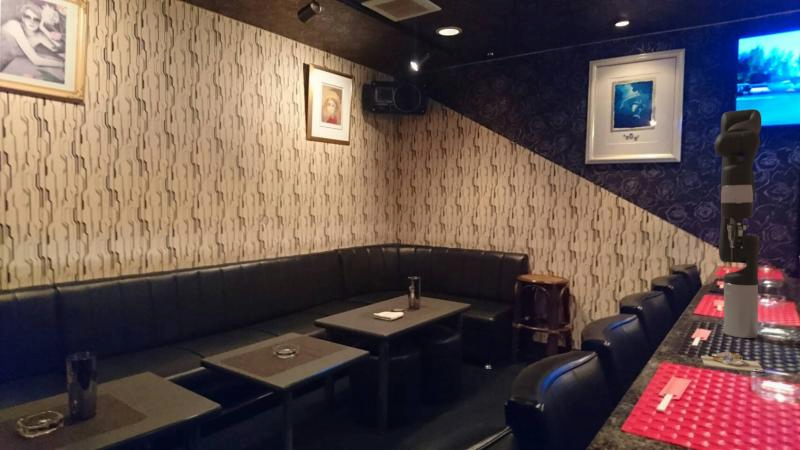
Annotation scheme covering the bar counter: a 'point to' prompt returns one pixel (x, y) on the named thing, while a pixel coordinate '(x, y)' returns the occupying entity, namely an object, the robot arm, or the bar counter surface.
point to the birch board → (731, 364)
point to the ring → (727, 357)
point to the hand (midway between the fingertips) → (736, 261)
